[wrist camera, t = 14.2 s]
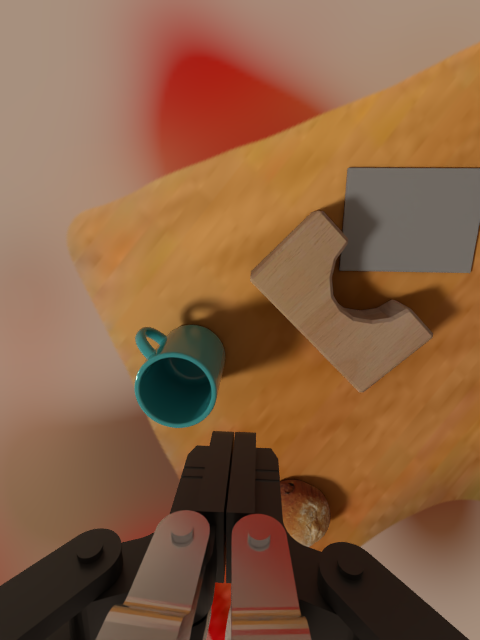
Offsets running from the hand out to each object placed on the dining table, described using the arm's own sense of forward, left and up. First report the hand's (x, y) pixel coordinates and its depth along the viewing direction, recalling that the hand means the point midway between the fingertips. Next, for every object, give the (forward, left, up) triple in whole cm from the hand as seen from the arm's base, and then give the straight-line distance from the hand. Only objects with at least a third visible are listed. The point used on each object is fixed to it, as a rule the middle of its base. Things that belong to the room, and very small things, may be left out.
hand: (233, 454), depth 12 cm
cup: (+9, +9, -35) cm, 37 cm away
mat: (-19, -8, -35) cm, 41 cm away
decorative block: (-3, -6, -32) cm, 33 cm away
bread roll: (-7, +34, -35) cm, 50 cm away
